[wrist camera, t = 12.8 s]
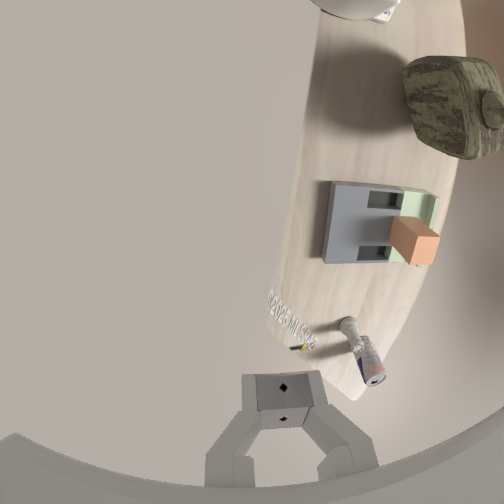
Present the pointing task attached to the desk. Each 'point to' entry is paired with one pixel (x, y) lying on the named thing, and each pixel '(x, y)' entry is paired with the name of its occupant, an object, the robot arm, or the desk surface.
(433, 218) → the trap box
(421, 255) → the block
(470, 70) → the tabletop clock
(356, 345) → the rook chess piece
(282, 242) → the desk surface
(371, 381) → the energy drink
